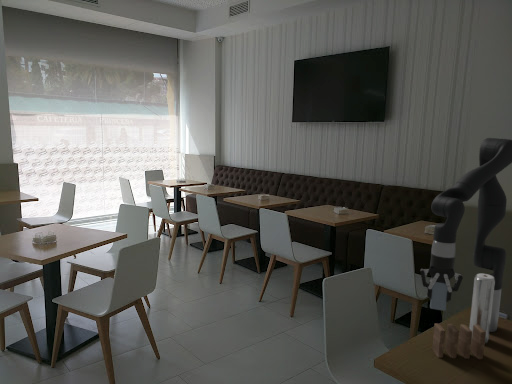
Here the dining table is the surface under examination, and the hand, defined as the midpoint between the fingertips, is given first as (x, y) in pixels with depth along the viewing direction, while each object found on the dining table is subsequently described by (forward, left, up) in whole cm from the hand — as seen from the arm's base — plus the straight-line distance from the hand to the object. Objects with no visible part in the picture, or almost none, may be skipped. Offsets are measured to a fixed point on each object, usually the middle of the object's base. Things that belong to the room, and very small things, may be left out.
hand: (438, 299), depth 140 cm
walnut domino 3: (-3, +9, -18) cm, 20 cm away
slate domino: (0, 0, -3) cm, 3 cm away
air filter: (-19, +7, -18) cm, 27 cm away
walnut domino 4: (-6, +12, -18) cm, 22 cm away
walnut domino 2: (0, +6, -18) cm, 19 cm away
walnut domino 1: (+4, +3, -18) cm, 19 cm away
